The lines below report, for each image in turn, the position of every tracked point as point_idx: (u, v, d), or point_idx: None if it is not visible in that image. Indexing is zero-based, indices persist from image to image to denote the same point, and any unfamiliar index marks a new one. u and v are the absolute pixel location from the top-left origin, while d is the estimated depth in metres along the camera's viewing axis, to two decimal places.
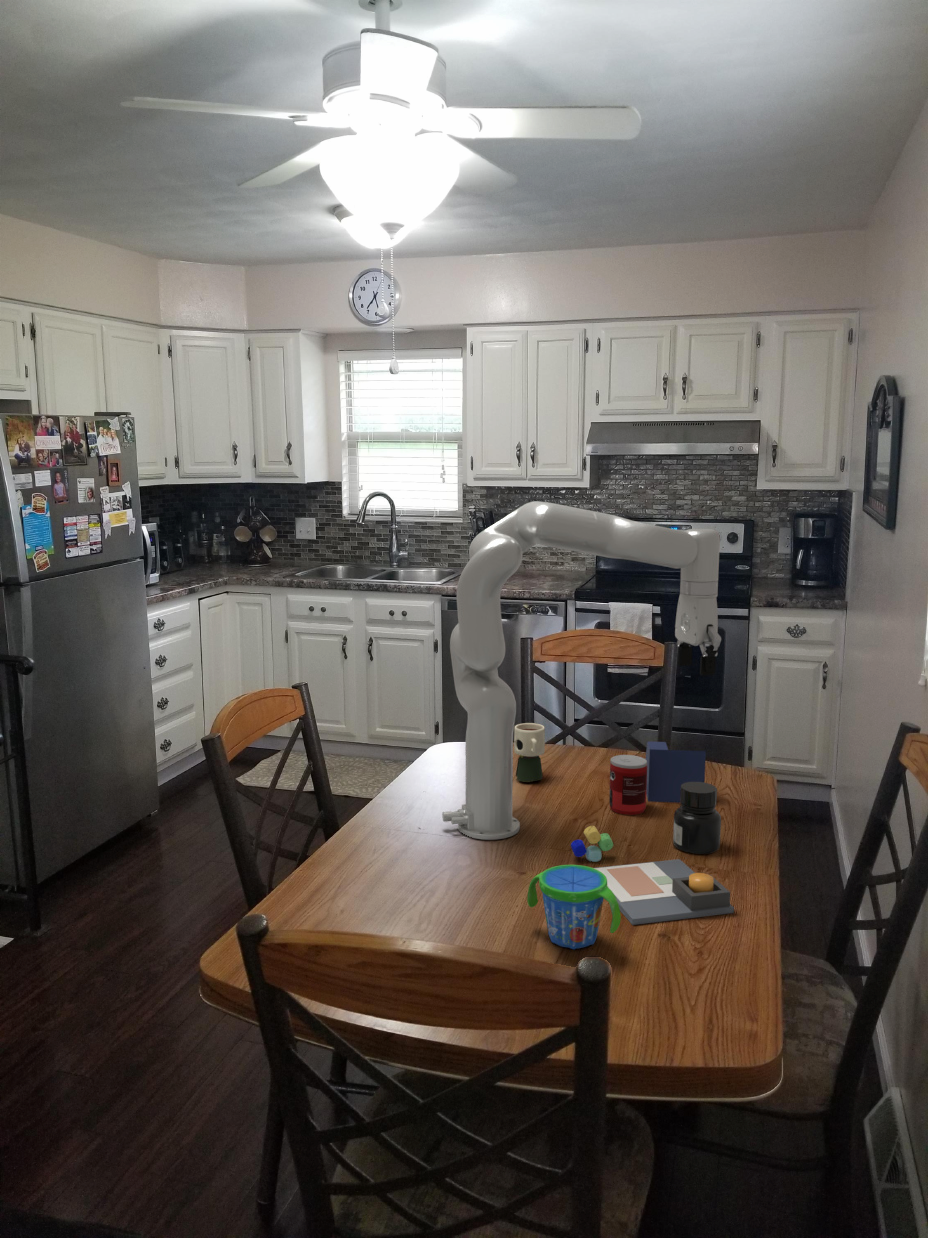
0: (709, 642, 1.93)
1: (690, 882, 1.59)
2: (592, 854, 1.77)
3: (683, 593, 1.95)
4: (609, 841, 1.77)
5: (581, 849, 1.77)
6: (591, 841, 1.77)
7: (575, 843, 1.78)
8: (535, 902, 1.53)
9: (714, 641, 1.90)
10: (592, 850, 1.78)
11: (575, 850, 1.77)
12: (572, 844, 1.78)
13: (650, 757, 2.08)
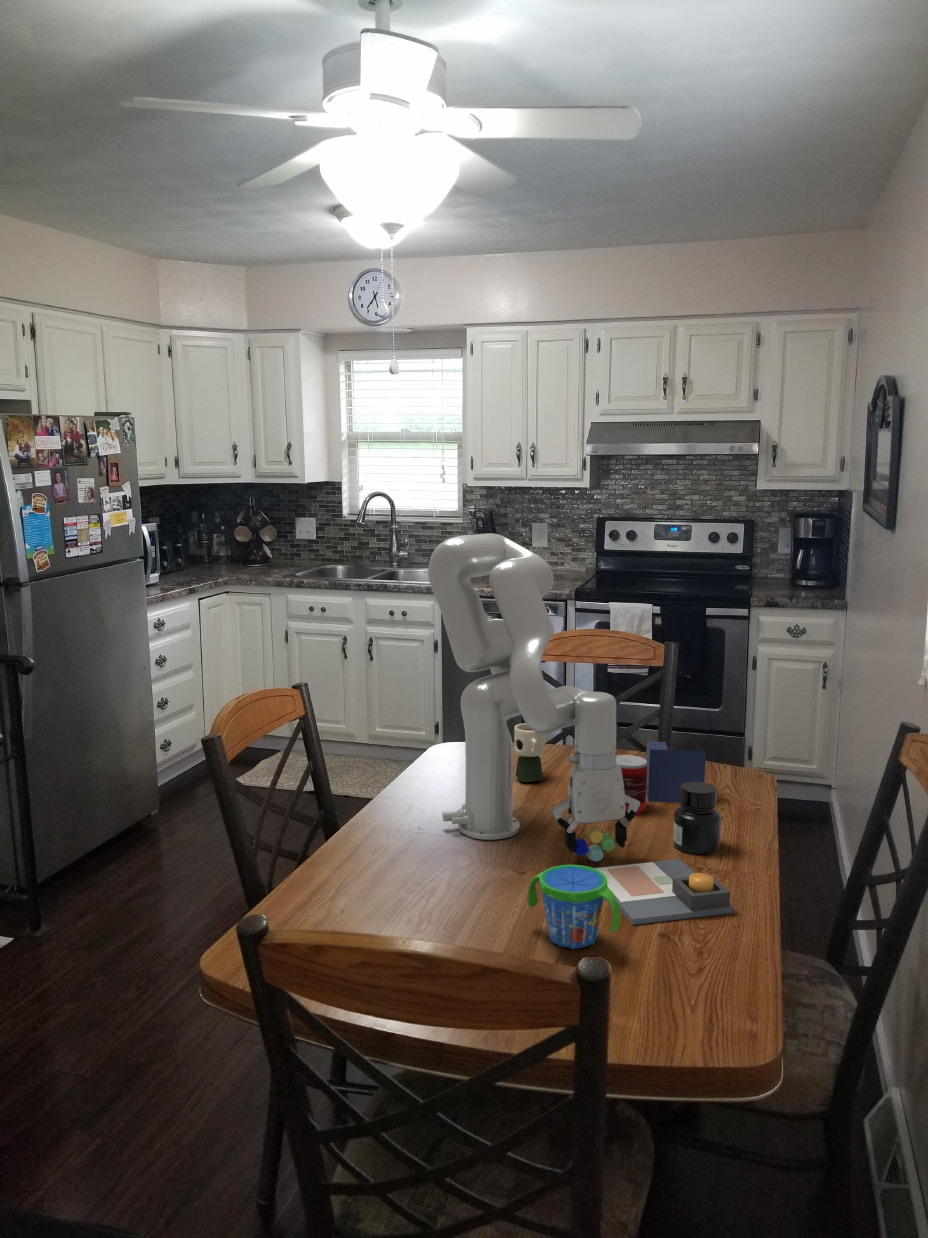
0: None
1: (690, 882, 1.59)
2: (594, 853, 1.77)
3: (605, 769, 1.72)
4: (611, 841, 1.77)
5: (583, 848, 1.77)
6: (593, 840, 1.77)
7: (577, 842, 1.78)
8: (535, 902, 1.53)
9: (636, 806, 1.78)
10: (594, 849, 1.78)
11: (577, 849, 1.77)
12: None
13: (650, 757, 2.08)
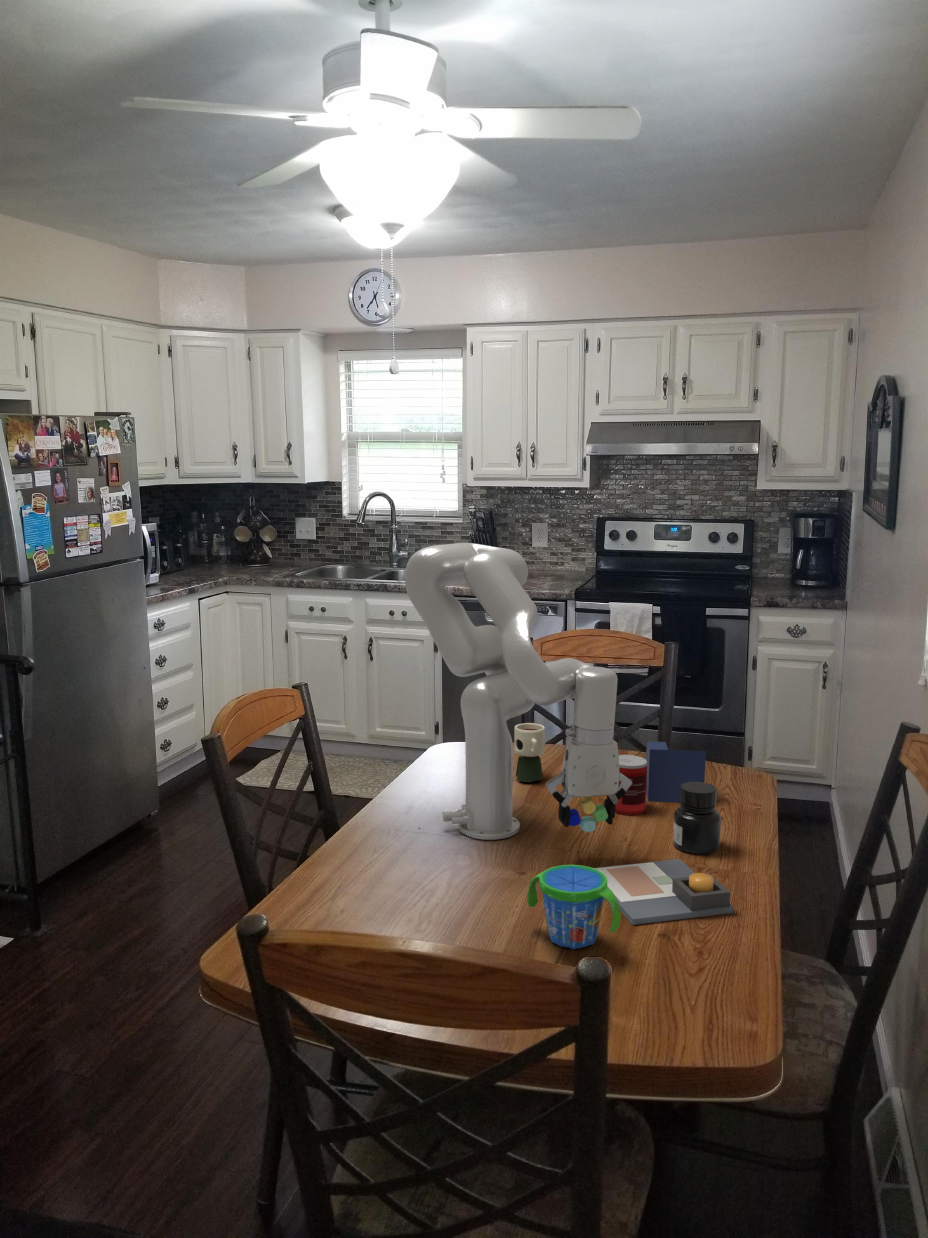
0: None
1: (690, 882, 1.59)
2: (586, 824, 1.77)
3: (602, 744, 1.72)
4: (604, 812, 1.77)
5: (575, 819, 1.77)
6: (586, 811, 1.77)
7: (570, 812, 1.78)
8: (535, 902, 1.53)
9: (627, 785, 1.78)
10: (586, 820, 1.78)
11: None
12: None
13: (650, 757, 2.08)
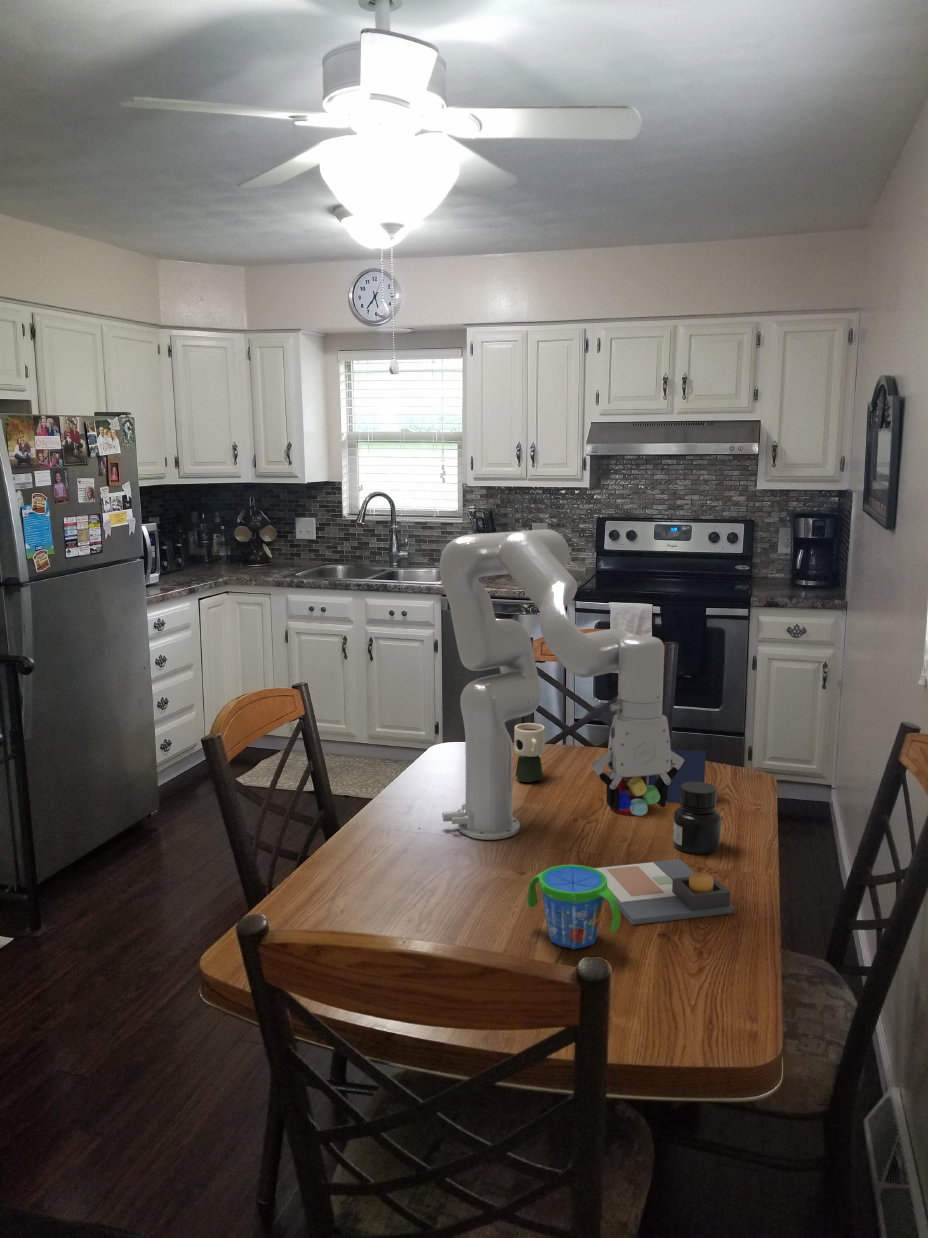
0: None
1: (690, 882, 1.59)
2: (637, 807, 1.63)
3: (651, 718, 1.59)
4: (656, 793, 1.63)
5: (625, 801, 1.63)
6: (636, 793, 1.63)
7: (619, 795, 1.64)
8: (535, 902, 1.53)
9: (679, 763, 1.65)
10: (637, 803, 1.64)
11: (619, 802, 1.63)
12: None
13: None
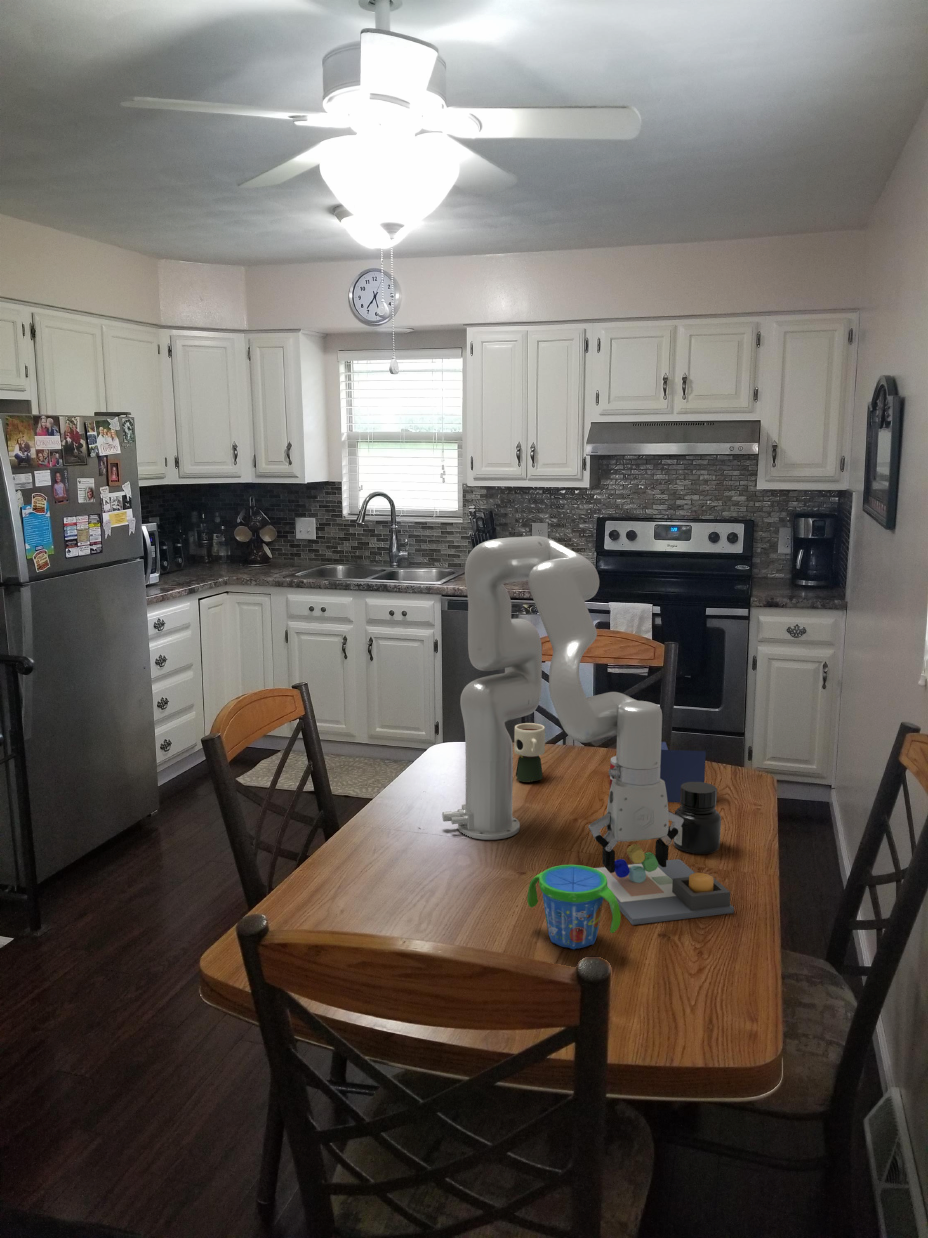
0: None
1: (690, 882, 1.59)
2: (636, 875, 1.65)
3: (649, 784, 1.60)
4: (654, 861, 1.65)
5: (624, 869, 1.65)
6: (635, 861, 1.65)
7: (617, 863, 1.66)
8: (535, 902, 1.53)
9: (679, 824, 1.66)
10: (636, 870, 1.66)
11: (618, 870, 1.65)
12: None
13: None
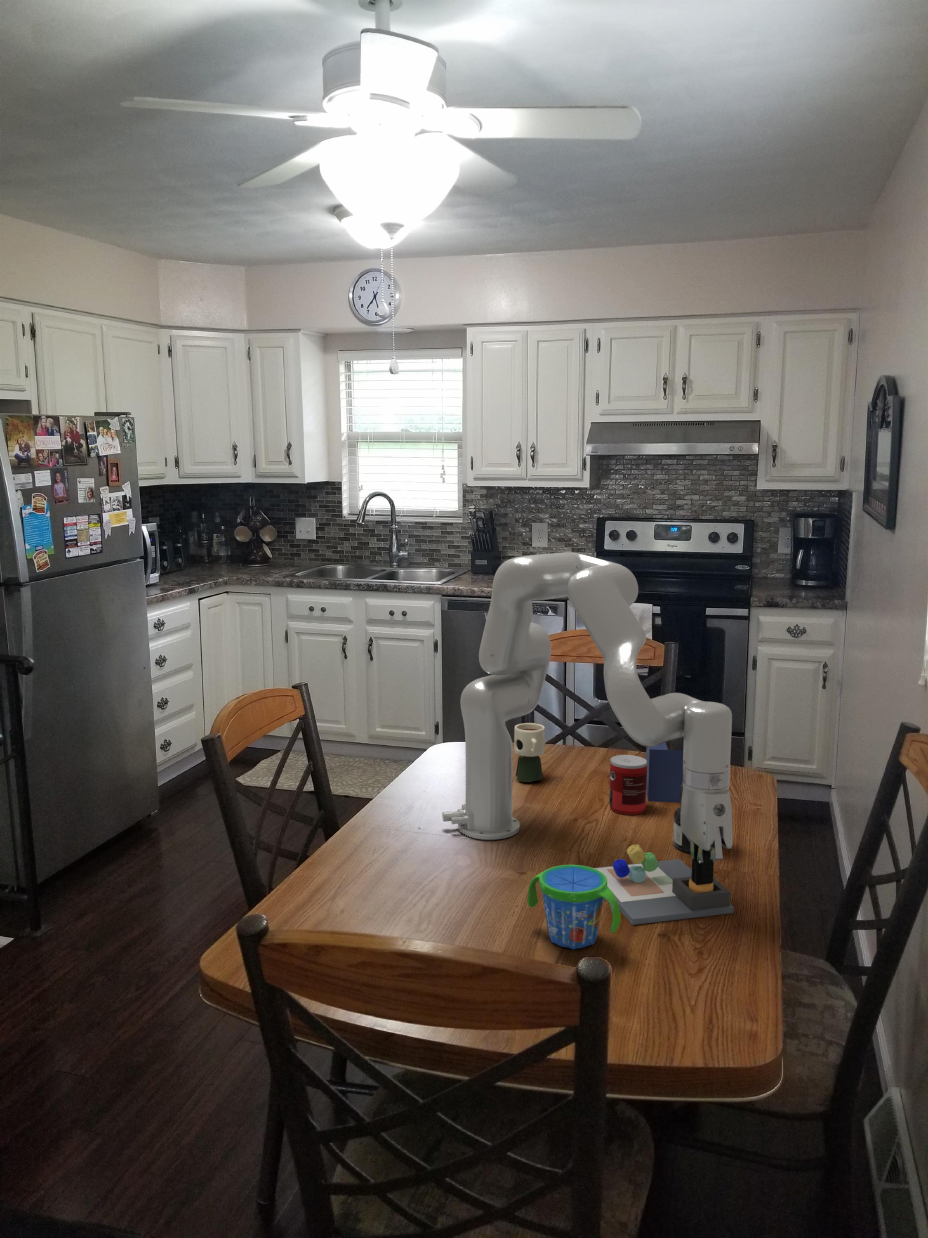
0: None
1: (690, 886, 1.59)
2: (636, 875, 1.65)
3: None
4: (654, 861, 1.65)
5: (624, 869, 1.65)
6: (635, 861, 1.65)
7: (617, 863, 1.66)
8: (535, 902, 1.53)
9: None
10: (636, 870, 1.66)
11: (618, 870, 1.65)
12: (614, 864, 1.66)
13: (650, 757, 2.08)
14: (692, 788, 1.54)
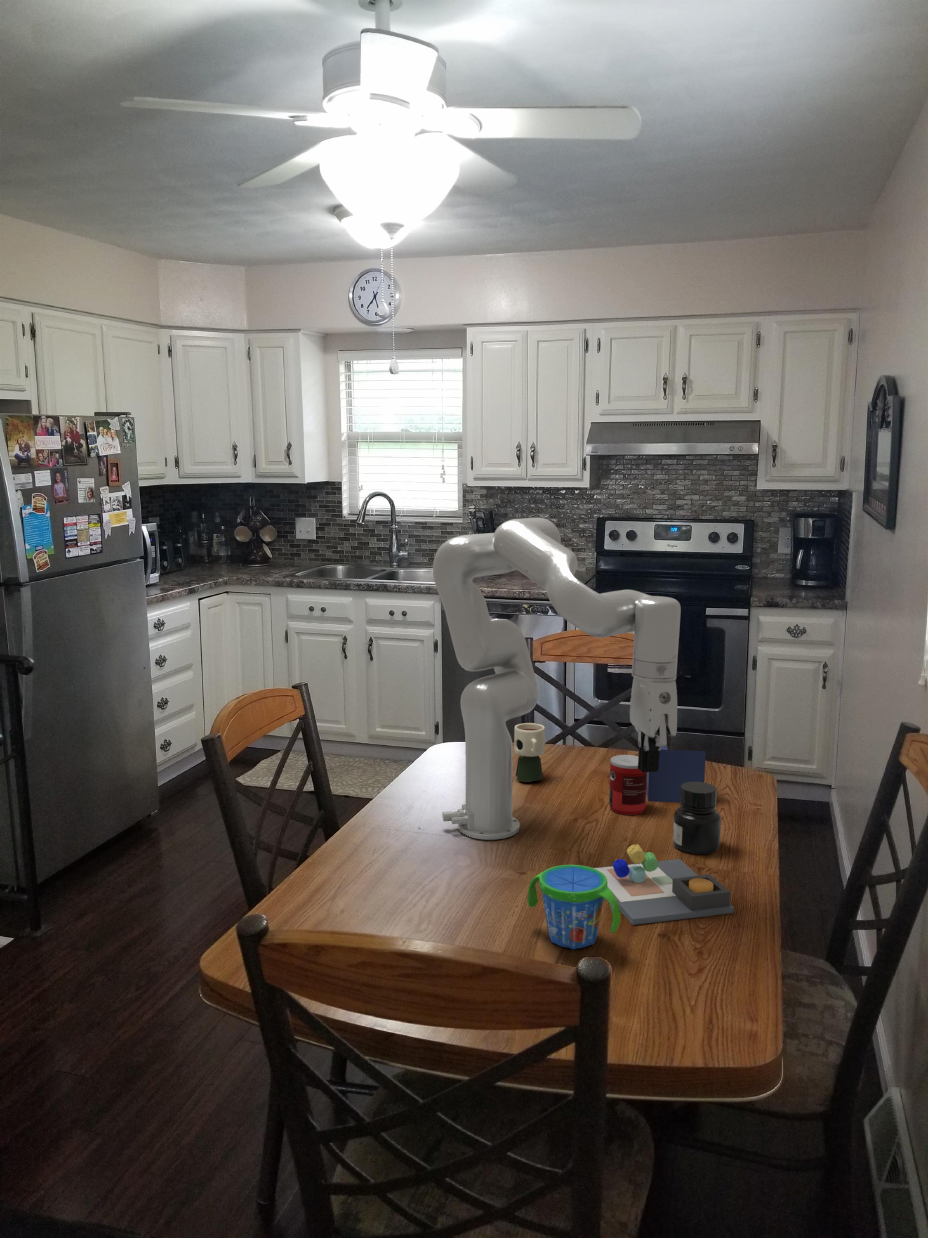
0: None
1: (690, 887, 1.59)
2: (636, 875, 1.65)
3: None
4: (654, 861, 1.65)
5: (624, 869, 1.65)
6: (635, 861, 1.65)
7: (617, 863, 1.66)
8: (535, 902, 1.53)
9: None
10: (636, 870, 1.66)
11: (618, 870, 1.65)
12: (614, 864, 1.66)
13: None
14: (640, 677, 1.61)
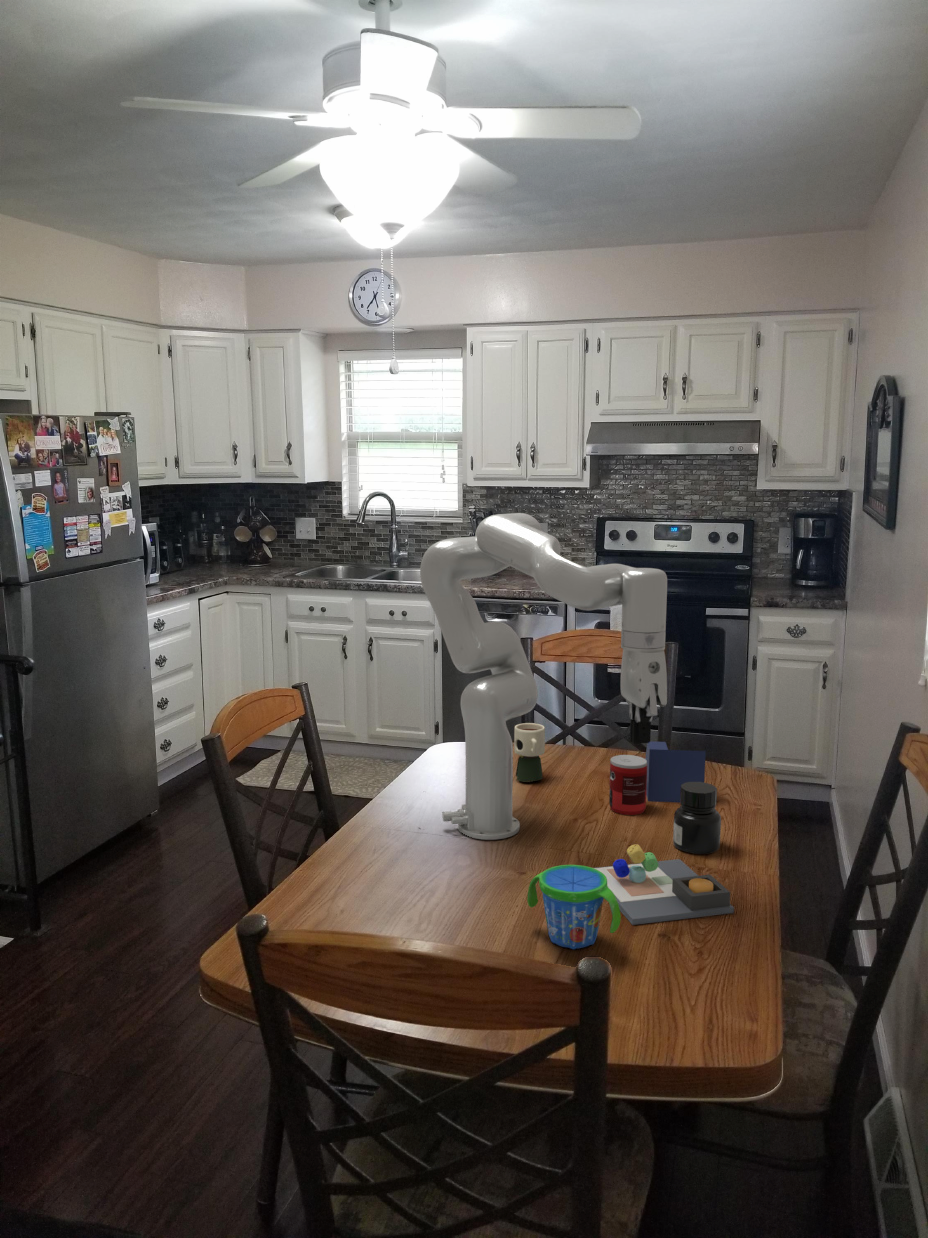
0: None
1: (690, 887, 1.59)
2: (636, 875, 1.65)
3: None
4: (654, 861, 1.65)
5: (624, 869, 1.65)
6: (635, 861, 1.65)
7: (617, 863, 1.66)
8: (535, 902, 1.53)
9: None
10: (636, 870, 1.66)
11: (618, 870, 1.65)
12: (614, 864, 1.66)
13: (650, 757, 2.08)
14: (629, 648, 1.62)
